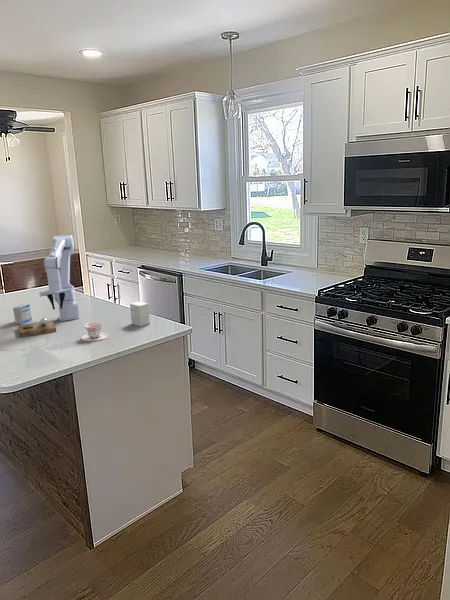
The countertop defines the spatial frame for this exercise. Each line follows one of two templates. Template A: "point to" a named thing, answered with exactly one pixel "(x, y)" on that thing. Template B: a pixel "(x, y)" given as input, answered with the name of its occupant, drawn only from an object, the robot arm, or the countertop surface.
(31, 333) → the hole plate
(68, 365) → the countertop surface
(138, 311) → the small box
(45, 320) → the steel ball
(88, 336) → the teacup
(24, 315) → the medicine box
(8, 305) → the countertop surface
